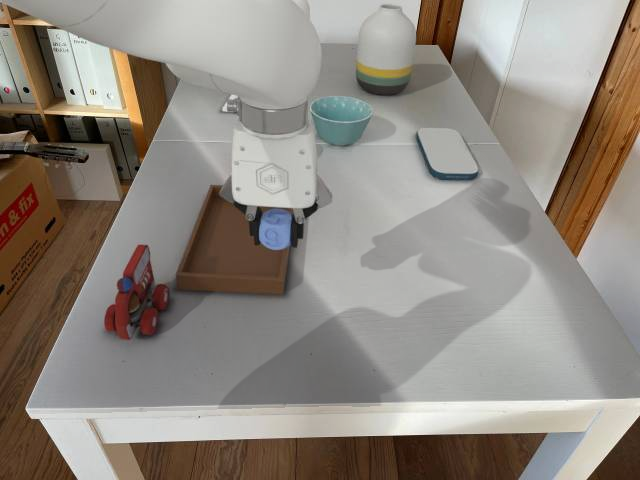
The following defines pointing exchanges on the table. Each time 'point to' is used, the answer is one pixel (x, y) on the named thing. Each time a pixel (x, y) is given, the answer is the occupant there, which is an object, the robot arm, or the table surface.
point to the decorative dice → (276, 229)
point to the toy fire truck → (136, 298)
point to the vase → (385, 51)
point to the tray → (229, 253)
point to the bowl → (340, 119)
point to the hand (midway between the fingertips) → (277, 239)
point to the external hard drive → (446, 154)
